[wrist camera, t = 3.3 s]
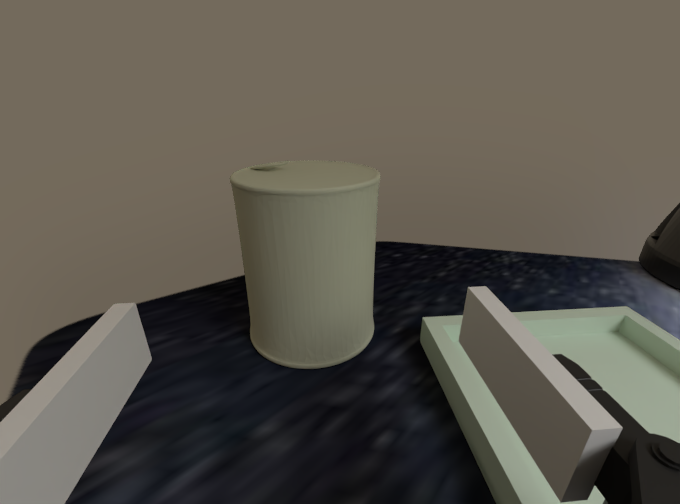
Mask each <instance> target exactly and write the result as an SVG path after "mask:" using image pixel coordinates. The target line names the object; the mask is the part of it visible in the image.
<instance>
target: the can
mask: <svg viewBox="0 0 680 504" xmlns="http://www.w3.org/2000/svg"><path fill="white" fill-rule="evenodd" d="M380 177H381V176H380V173H379V172H378V171H377V170H376V169H374V168H371V167H369V166H364V165H360V164H355V163H346V162H336V161H290V162H289V161H284V162H276V163H268V164H261V165H256V166H251V167H247V168H243V169H240V170H238V171H236V172H234V173H233V174H232V175H231V176H230V182H231V184H232V190H233V196H234V201H235V208H236V215H237V221H238V228H239V235H240V242H241V249H242V257H243V265H244V272H245V280H246V287H247V295H248V303H249V311H250V322H251V327H250V337H251V341H252V343H253V345H254V347H255V348H256V350H257V351H258V352H259V353H260V354H261V355H262V356H264V357H265V358H266V359H268V360H270V361H272V362H274V363H276V364H279V365H282V366H286V367H291V368H298V369H317V368H325V367H330V366H333V365H337V364H340V363H342V362H345V361H347V360H349V359H351V358H353V357H355V356H356V355H358V354H359V353H360V352H361V351H362V350H363V349H364V348H365V347H366V346H367V345H368V344H369V342H370V340H371V338H372V336H373V333H374V321H373V287H374V262H375V243H376V223H377V205H378V190H379V181H380Z"/></svg>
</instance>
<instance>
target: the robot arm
mask: <svg viewBox="0 0 680 504" xmlns="http://www.w3.org/2000/svg"><path fill="white" fill-rule="evenodd" d="M639 261H640V263H641V265H642V266H643V267H644V268H645V269H646V270H647V271H648V272H650V273H651V274H652V275H654V276H655V277H657V278H659V279H660V280H662V281H664V282H666V283H668V284H670V285H672V286H674V287H676V288H678V289H680V203H679V204H678V205H677V206H676V207H675V208H674V210H673V211H672V212H671V213H670V214H669V215H668V216H667V217H666V218H665V219H664V221H663V222H662V223H661V224H660V225H659V226H658V228H657V229H656V230H655V231H654V232H653V233H651V235H650V236H649V237H648V238H647V240H646V242H645V245H644V247H643V249H642V252H641V254H640V257H639ZM459 343H460V344H461V346H462V347H463V349H464V351H465V352H466V354H467V355H468V357H469V359H470V360H471V362H472V363H473V365H474V366H475V368H476V370H477V371H478V373H479V374H480V376H481V377H482V379H483V381H484V382H485V384H486V385H487V387H488V389H489V390H490V392H491V393H492V395H493V396H494V398H495V400H496V401H497V403H498V404H499V406H500V408H501V409H502V411H503V412H504V414H505V415H506V417H507V419H508V420H509V422H510V423H511V425H512V427H513V428H514V430H515V431H516V433H517V434H518V436H519V438H520V439H521V441H522V442H523V444H524V446H525V447H526V449H527V450H528V452H529V453H530V455H531V457H532V458H533V460H534V461H535V463H536V465H537V466H538V468H539V469H540V471H541V472H542V474H543V476H544V477H545V479H546V480H547V482H548V483H549V485H550V487H551V488H552V490H553V491H554V493H555V495H556V496H557V498H558V499H559V501H560V502H561V503H562V502H572V501H581V500H588V498H589V496H590V494H591V492H592V490H593V488H594V486H596V487H597V489H598V490H599V491H600V493H601V494H602V495H603V497H604V498H605V500H604V502H603V504H680V443H678V442H676V441H674V440H672V439H670V438H668V437H665V436H661V435H658V434H651V433H649V432H648V431H646V430H645V429H644V428H643V427H642V426H641V425H640V424H639V423H638V422H637V421H636V420H635V419H634V418H633V417H632V416H631V415H630V414H629V413H628V412H627V411H626V410H625V409H624V408H623V407H622V406H621V405H620V404H619V403H618V402H617V401H615V400H614V399H613V398H612V397H611V396H610V395H609V394H608V393H607V392H606V391H603V389H602V387H601V386H600V385H599V384H598V383H597V382H596V381H595V380H592V378H591V376H590V375H589V374H588V373H587V372H586V371H585V370H583V369H582V368H581V367H580V366H579V365H578V364H577V363H575V362H573V361H572V360H570V359H569V358H567V357H565V356H564V355H562V354H551V353H550V352H549V351H548V350H547V349H546V348H545V347H544V346H543V345H542V344H541V343H540V342H539V341H538V340H537V339H536V338H535V337H534V336H533V334H532V333H531V332H530V331H529V330H528V329H527V328H526V327H525V326H524V325H523V324H522V323H521V322H520V321H519V320H518V319H517V318H516V317H515V316H514V315H513V314H512V313H511V312H510V311H509V310H508V309H507V308H506V307H505V306H504V305H503V304H502V302H501V301H500V300H499V299H498V298H497V297H496V296H495V295H494V294H493V293H492V292H491V291H490V290H489V289H488V288H487V287H486V286H483V287H468V290H467V296H466V301H465V307H464V313H463V318H462V324H461V330H460V335H459ZM151 360H152V358H151V354H150V351H149V348H148V344H147V341H146V337H145V334H144V330H143V327H142V324H141V320H140V317H139V313H138V310H137V307H136V303H118V304H114V305H113V306H112V307H111V308H110V309H109V310H108V311H107V312H106V313H105V314H104V315H103V316H102V317H101V318H100V319H99V320H98V321H97V322H96V323H95V324H94V325H93V326H92V327H91V328H90V329H89V330H88V332H87V333H86V334H85V335H84V336H83V337H82V338H81V339H80V340H79V341H78V342H77V343H76V344H75V345H74V346H73V347H72V348H71V349H70V350H69V351H68V352H67V353H66V354H65V355H64V357H63V358H62V359H61V360H60V361H59V362H58V363H57V364H56V365H55V366H54V367H53V368H52V369H51V370H50V371H49V372H48V373H47V374H46V375H45V376H44V377H43V378H42V379H41V380H40V381H39V383H38V384H37V385H36V386H35V387H34V388H33V389H26V390H22V391H21V392H19V393H18V394H16V395H15V396H14V397H12V398H11V399H9V400H8V401H6V402H5V403H3V404H2V405H1V406H0V504H65V502H66V500H67V499H68V497H69V495H70V494H71V492H72V490H73V489H74V487H75V486H76V484H77V482H78V481H79V479H80V477H81V476H82V474H83V472H84V471H85V469H86V467H87V466H88V464H89V462H90V461H91V459H92V457H93V456H94V454H95V453H96V451H97V449H98V448H99V446H100V444H101V443H102V441H103V439H104V438H105V436H106V434H107V433H108V431H109V429H110V428H111V426H112V424H113V423H114V421H115V420H116V418H117V416H118V415H119V413H120V411H121V410H122V408H123V406H124V405H125V403H126V401H127V400H128V398H129V396H130V395H131V393H132V391H133V390H134V388H135V386H136V385H137V383H138V382H139V380H140V378H141V377H142V375H143V373H144V372H145V370H146V368H147V367H148V365H149V363H150V362H151Z"/></svg>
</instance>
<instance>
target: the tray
mask: <svg viewBox="0 0 680 504" xmlns="http://www.w3.org/2000/svg"><path fill="white" fill-rule="evenodd" d="M512 314H513V315H514V316H515V317H516V318H517V319H518V320H519V321H520V322H521V323H522V324H523V325H524V326H525V327H526V328H527V329H528V330H529V331H530V332H531V333H532V334H533V336H534V337H535V338H536V339H537V340H538V341H539V342H540V343H541V344H542V345H543V346H544V347H545V348H546V349H547V350H548V351H549V352H550V353H551V354H562V355H564V356H565V357H567V358H569V359H570V360H572V361H573V362H575V363H577V364H578V365H579V366H580V367H581V368H582V369H583V370H585V371H586V372H587V373H588V374H589V375H590V376H591V378H592V380H595V381H596V382H597V383H598V384H599V385H600V386H601V387H602V389H603V391H606V392H607V393H608V394H609V395H610V396H611V397H612V398H613V399H614V400H615V401H617V402H618V403H619V404H620V405H621V406H622V407H623V408H624V409H625V410H626V411H627V412H628V413H629V414H630V415H631V416H632V417H633V418H634V419H635V420H636V421H637V422H638V423H639V424H640V425H641V426H642V427H643V428H644V429H645V430H646V431H648V432H649V433H651V434H658V435H661V436H665V437H668V438H670V439H672V440H674V441H676V442H678V443H680V340H679V339H677V338H675V337H674V336H672V335H671V334H669V333H668V332H666V331H665V330H663V329H661V328H660V327H658V326H657V325H655V324H654V323H652V322H650V321H649V320H647V319H646V318H644V317H643V316H641V315H640V314H638V313H636V312H635V311H633V310H632V309H630V308H629V307H627V306H623V307H605V308H586V309H568V310H550V311H531V312H513V313H512ZM462 318H463V315H457V316H439V317H423V318H422V327H421V335H420V342H421V345H422V347H423V349H424V351H425V353H426V355H427V357H428V359H429V362H430V364H431V366H432V368H433V370H434V372H435V374H436V377H437V379H438V381H439V383H440V385H441V387H442V389H443V391H444V394H445V396H446V398H447V400H448V402H449V404H450V406H451V408H452V411H453V413H454V415H455V417H456V419H457V421H458V423H459V426H460V428H461V430H462V432H463V434H464V436H465V438H466V440H467V443H468V445H469V447H470V449H471V451H472V453H473V455H474V458H475V460H476V462H477V464H478V466H479V468H480V470H481V472H482V475H483V477H484V479H485V481H486V483H487V485H488V487H489V490H490V492H491V494H492V496H493V498H494V500H495V502H496V504H603V502H604V500H605V498H604V497H603V495H602V494H601V493H600V491H599V490H598V489H597V487H596V486H594V488H593V490H592V492H591V494H590V496H589V498H588V500H581V501H572V502H562V503H561V502H560V501H559V499H558V498H557V496H556V495H555V493H554V491H553V490H552V488H551V487H550V485H549V483H548V482H547V480H546V479H545V477H544V476H543V474H542V472H541V471H540V469H539V468H538V466H537V465H536V463H535V461H534V460H533V458H532V457H531V455H530V453H529V452H528V450H527V449H526V447H525V446H524V444H523V442H522V441H521V439H520V438H519V436H518V434H517V433H516V431H515V430H514V428H513V427H512V425H511V423H510V422H509V420H508V419H507V417H506V415H505V414H504V412H503V411H502V409H501V408H500V406H499V404H498V403H497V401H496V400H495V398H494V396H493V395H492V393H491V392H490V390H489V389H488V387H487V385H486V384H485V382H484V381H483V379H482V377H481V376H480V374H479V373H478V371H477V370H476V368H475V366H474V365H473V363H472V362H471V360H470V359H469V357H468V355H467V354H466V352H465V351H464V349H463V347H462V346H461V344H460V343H459V335H460V330H461V324H462Z"/></svg>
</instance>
